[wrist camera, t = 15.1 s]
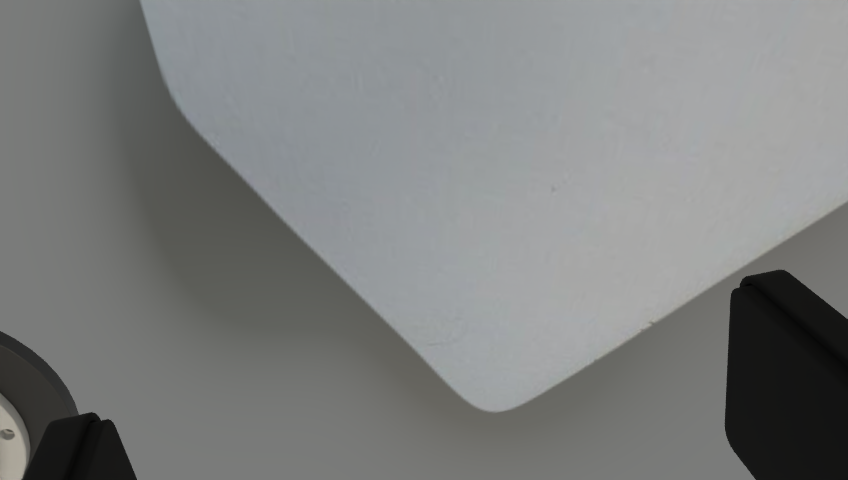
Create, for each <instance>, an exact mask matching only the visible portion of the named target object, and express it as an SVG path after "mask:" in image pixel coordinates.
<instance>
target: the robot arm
mask: <svg viewBox="0 0 848 480" xmlns="http://www.w3.org/2000/svg"><path fill="white" fill-rule="evenodd" d="M725 431H726V436H727V439H728V441H729V444H730V446H731V447H732V449H733V450H734V452H735V453H736V454H737V456H738V457H739V458H740V460H741V461H742V462H743V464H744V465H745V466H746V467H747V469H748V470H749V471H750V473H751V474H752V475H753V476H754V478H755V479H756V480H848V319H846V318H845V317H844V316H843V315H841V314H840V313H839V312H838V311H836V310H835V309H834V308H833V307H831V306H830V305H829V304H828V303H826V302H825V301H824V300H823V299H821V298H820V297H819V296H818V295H816V294H815V293H814V292H812V291H811V290H810V289H809V288H807V287H806V286H805V285H804V284H802V283H801V282H800V281H799V280H797V279H796V278H795V277H793V276H792V275H791V274H790V273H788V272H787V271H785V270H776V271H771V272H766V273H761V274H756V275H751V276H746V277H745V278H744V279H742V281H741V283H740V288H736V289H734V290H733V291H732V293H731V300H730V322H729V345H728V366H727V388H726V409H725ZM29 457H30V441H29V434H28V431H27V429H26V426H25V424H24V422H23V419H22V418H21V416H20V415H19V413H18V412H17V411H16V409H15V408H14V406H13V405H12V404H11V403H10V402H9V401H8V400H7V399H6V398H5V397H4V396H3V395H2V394H1V393H0V480H21V479H22V478H23V475H24V473H25V470H26V468H27V465H28V463H29ZM23 480H137V478H136V476H135V473H134V471H133V469H132V466H131V464H130V461H129V459H128V456H127V454H126V452H125V449H124V447H123V444H122V442H121V439H120V437H119V434H118V432H117V430H116V427H115V425H114V423H113V422H112V421H111V420H109V419H107V420H102V421H101V420H100V418H99V417H98V416H97V414H95V413H92V412H91V413H86V414H82V415H77V416H72V417H67V418H62V419H57V420H53V421H51V422H50V423H49V424H48V426H47V428H46V430H45V432H44V434H43V437H42V439H41V441H40V443H39V446H38V448H37V450H36V452H35V454H34V457H33V459H32V461H31V463H30V466H29V468H28V470H27V472H26V474H25V477H24V479H23Z"/></svg>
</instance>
